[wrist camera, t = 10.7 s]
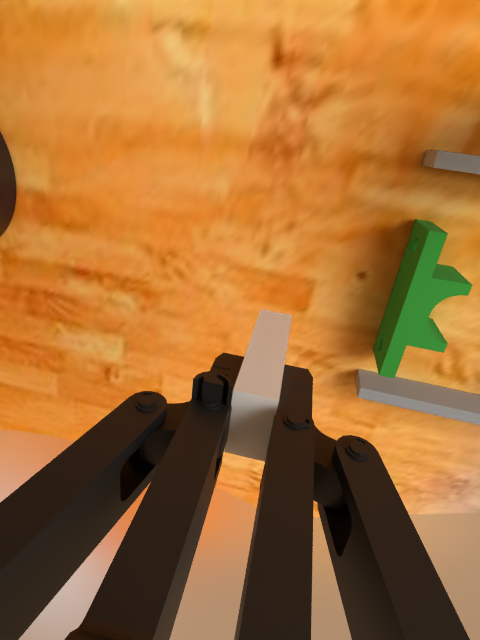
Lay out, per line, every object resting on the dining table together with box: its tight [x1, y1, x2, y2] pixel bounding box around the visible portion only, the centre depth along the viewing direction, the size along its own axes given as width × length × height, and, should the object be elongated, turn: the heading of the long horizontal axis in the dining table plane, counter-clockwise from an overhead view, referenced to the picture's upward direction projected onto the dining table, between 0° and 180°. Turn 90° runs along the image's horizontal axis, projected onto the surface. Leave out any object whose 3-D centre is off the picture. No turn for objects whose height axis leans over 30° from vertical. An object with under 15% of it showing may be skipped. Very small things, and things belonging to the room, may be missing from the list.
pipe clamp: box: [373, 219, 472, 379], centre depth 28 cm, size 11×4×5 cm, turn 172°
